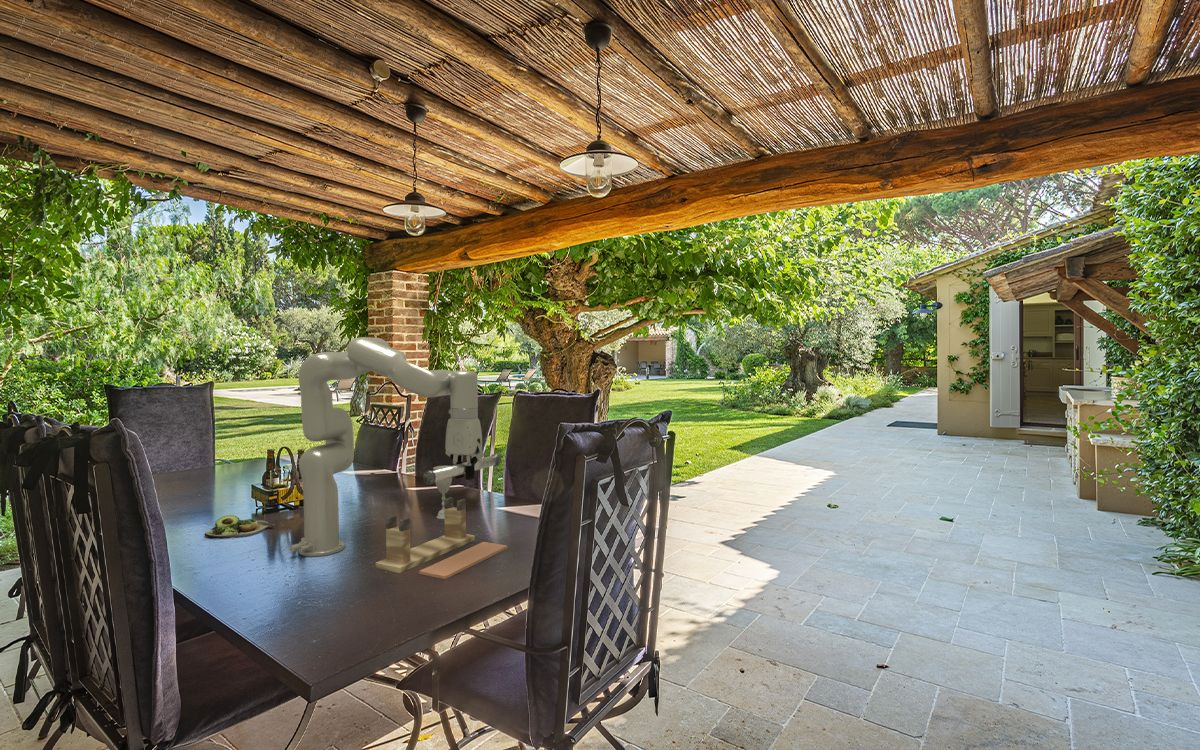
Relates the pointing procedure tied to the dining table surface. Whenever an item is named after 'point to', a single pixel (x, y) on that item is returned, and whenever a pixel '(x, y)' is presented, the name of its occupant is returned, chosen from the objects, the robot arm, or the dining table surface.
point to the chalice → (442, 490)
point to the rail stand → (406, 558)
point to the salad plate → (236, 527)
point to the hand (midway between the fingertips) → (464, 477)
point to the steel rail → (459, 469)
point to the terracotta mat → (463, 560)
